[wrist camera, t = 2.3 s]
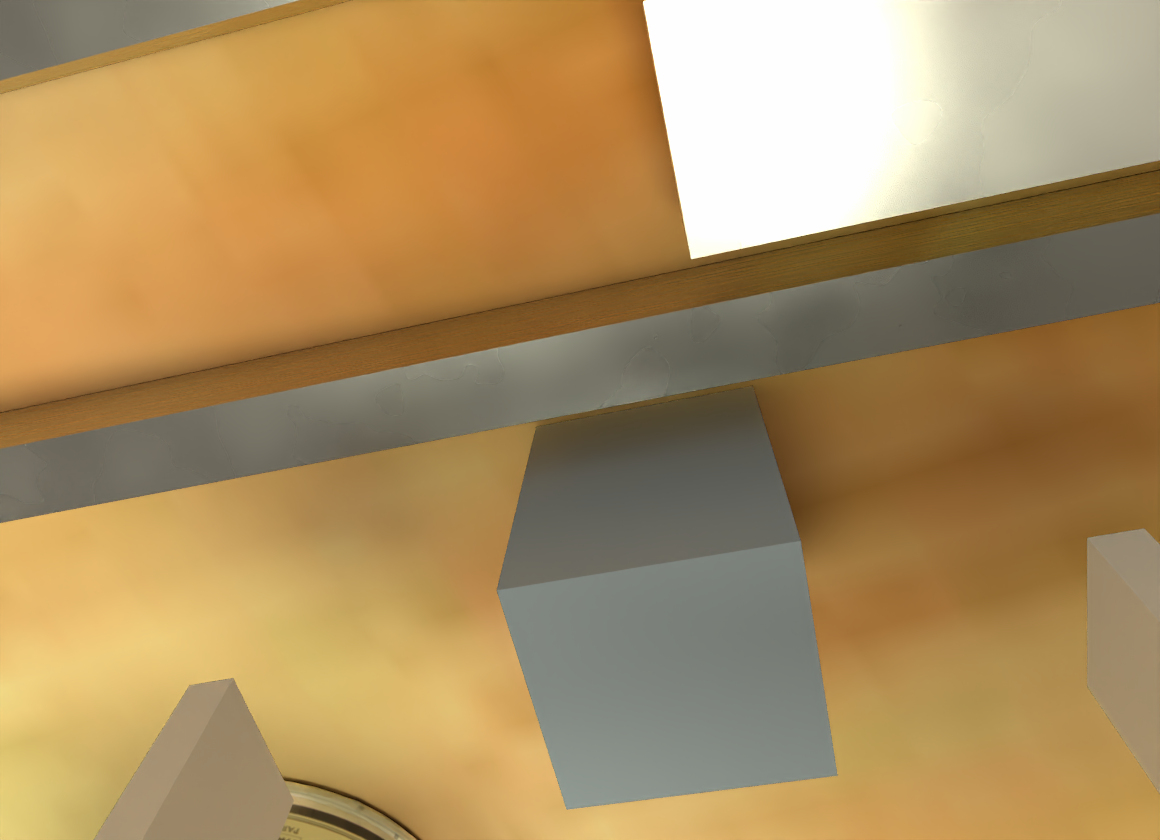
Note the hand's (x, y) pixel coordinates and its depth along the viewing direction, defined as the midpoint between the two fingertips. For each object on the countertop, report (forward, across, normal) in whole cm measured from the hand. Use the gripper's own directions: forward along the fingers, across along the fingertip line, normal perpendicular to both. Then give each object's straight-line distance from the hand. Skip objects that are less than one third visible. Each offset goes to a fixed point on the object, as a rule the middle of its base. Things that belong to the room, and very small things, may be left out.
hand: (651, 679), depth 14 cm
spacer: (+6, 0, 0) cm, 6 cm away
